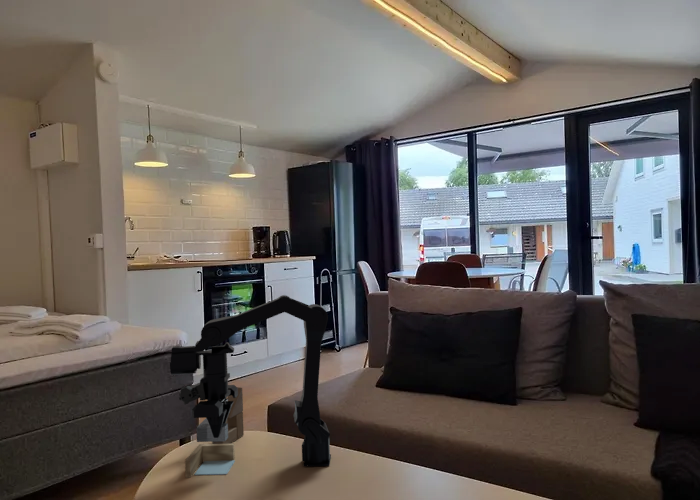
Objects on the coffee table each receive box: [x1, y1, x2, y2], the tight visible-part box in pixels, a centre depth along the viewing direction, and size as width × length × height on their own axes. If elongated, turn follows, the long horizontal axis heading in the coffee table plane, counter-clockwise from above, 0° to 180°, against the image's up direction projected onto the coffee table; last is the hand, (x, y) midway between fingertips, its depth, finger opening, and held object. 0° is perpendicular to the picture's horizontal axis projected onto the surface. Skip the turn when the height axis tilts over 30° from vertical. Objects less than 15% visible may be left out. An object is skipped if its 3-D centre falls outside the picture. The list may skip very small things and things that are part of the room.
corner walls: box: [184, 442, 236, 478], centre depth 130 cm, size 9×11×4 cm
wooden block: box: [211, 386, 245, 444], centre depth 148 cm, size 4×11×18 cm, turn 160°
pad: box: [193, 459, 236, 476], centre depth 129 cm, size 8×8×1 cm
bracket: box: [195, 418, 228, 443], centre depth 129 cm, size 7×7×4 cm
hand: (218, 435), depth 127 cm, fingers closed on bracket, 3 cm apart
